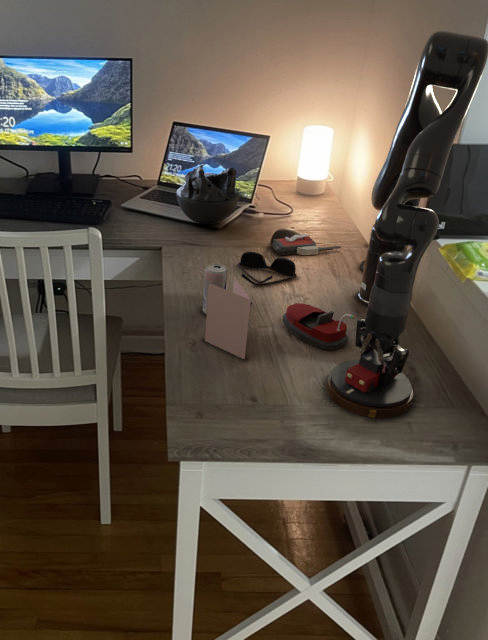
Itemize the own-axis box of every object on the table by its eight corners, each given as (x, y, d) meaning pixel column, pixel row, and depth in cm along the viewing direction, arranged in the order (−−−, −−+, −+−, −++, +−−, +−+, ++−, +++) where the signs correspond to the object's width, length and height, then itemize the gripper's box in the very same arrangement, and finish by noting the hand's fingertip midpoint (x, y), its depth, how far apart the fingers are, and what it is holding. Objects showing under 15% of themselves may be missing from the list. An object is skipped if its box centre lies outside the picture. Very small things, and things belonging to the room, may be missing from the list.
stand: (325, 365, 150) (326, 358, 149) (405, 375, 147) (407, 367, 146) (327, 412, 135) (329, 404, 134) (416, 424, 132) (419, 416, 131)
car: (363, 354, 150) (368, 329, 146) (427, 388, 139) (434, 362, 135) (314, 378, 141) (318, 352, 138) (378, 416, 130) (384, 389, 127)
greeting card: (248, 359, 152) (254, 299, 144) (216, 362, 150) (221, 302, 143) (232, 333, 161) (237, 276, 153) (202, 336, 160) (206, 278, 152)
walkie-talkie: (279, 259, 198) (341, 253, 202) (281, 245, 196) (344, 239, 200) (267, 247, 205) (327, 241, 210) (269, 233, 203) (329, 228, 207)
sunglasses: (222, 284, 183) (224, 267, 181) (239, 264, 195) (241, 248, 192) (283, 297, 177) (286, 280, 175) (297, 275, 189) (299, 259, 186)
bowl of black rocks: (163, 223, 220) (165, 166, 211) (197, 207, 234) (200, 152, 224) (215, 239, 210) (219, 179, 200) (248, 220, 224) (253, 164, 214)
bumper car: (303, 312, 171) (308, 276, 165) (363, 348, 156) (371, 310, 151) (273, 322, 166) (278, 285, 161) (332, 360, 152) (340, 321, 147)
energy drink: (225, 307, 172) (229, 264, 166) (221, 317, 168) (225, 273, 161) (204, 305, 173) (207, 261, 167) (200, 314, 169) (203, 270, 163)
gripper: (429, 320, 126) (410, 393, 135) (382, 286, 138) (368, 356, 146) (395, 326, 124) (378, 400, 133) (350, 292, 136) (337, 362, 144)
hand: (373, 377), depth 140 cm, fingers closed on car, 6 cm apart
